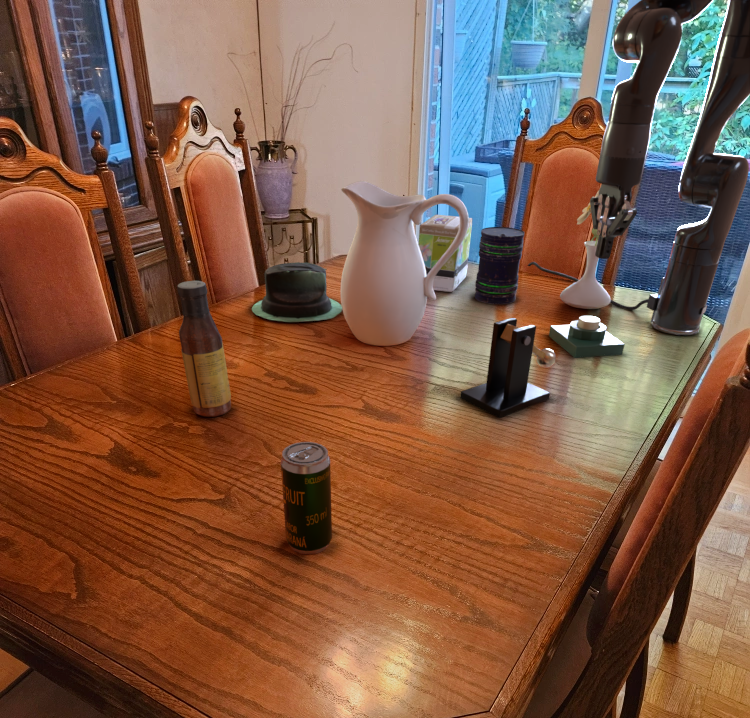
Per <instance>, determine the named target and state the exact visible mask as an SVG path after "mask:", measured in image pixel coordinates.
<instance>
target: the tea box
mask: <svg viewBox="0 0 750 718" xmlns="http://www.w3.org/2000/svg"><path fill="white" fill-rule="evenodd" d="M459 226H460V217H459V216H455V215H445V214H434V215H433V216H431V217H430V218H428V219H426V220H425V221H424V222H421V223H420V224H419V229H418V230H419V232H418V245H419V248H420V251H421V254H422V257H423V261H424V265H425V269H426V275H427V274H428V273H429V272H430V270H431V269H432V268H433V266H434V265H435V264H436V263H437V262H438V260H439V259H440V258H441V257H442V255H443V254H444V253H445V252H446V251H447V249H448V248H449V247H450V245H451V244H452V242H453V241H454V239H455V237H456V235H457V233H458V230H459ZM472 229H473V217H469V224H468V230H467V233H466V236H465V238H464V240H463V241H462V243H461V244H460V246H459V247H458V249H457V250H456V251H455V252H454V254H453V255H452V256H451V257H450V258H449V259H448V260H447V262H446V263H445V264H444V265H443V266H442V267H441V269H440V270H439V271H438V273H437V274H436V276H435V277H434V280H433V290H434V291H439V292H449V293H453V292H454V291H455V289H457V288H458V286H459V285H460V284H461V283H462V282H463V281H464V280H465V279H466V277H467V274H468V273H467V272H468V265H469V257H470V247H471V236H472Z"/></svg>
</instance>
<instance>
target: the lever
mask: <svg viewBox="0 0 750 718" xmlns="http://www.w3.org/2000/svg"><path fill="white" fill-rule="evenodd" d="M518 328H519V326H517V325H516V326H513V325H510V324H507V326H506V327H505V329H504V331H503V333H502V335H501V338H502V339H503V340H505V341H506V342H508V343H509V344H511V338H512V331H513V330H515V329H518ZM532 355H534V356H536V363H537V365H539V367H541V368H545V369H546V368H550V367H552V366H553V365H554V364H555V363H556V359H557V355H556V353H555V352H554V350H553V349H551V348H542V349H540V348H538V346H536V345H533V351H532Z"/></svg>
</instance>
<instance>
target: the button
mask: <svg viewBox="0 0 750 718" xmlns="http://www.w3.org/2000/svg"><path fill="white" fill-rule="evenodd" d="M578 320H579V321H578V327H579V328H582V329H588V330H597V329H598V328H599V323H601V319H600V318H599V317H597V316H593V315H581V316H579V317H578Z"/></svg>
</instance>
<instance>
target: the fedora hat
mask: <svg viewBox="0 0 750 718" xmlns="http://www.w3.org/2000/svg"><path fill="white" fill-rule="evenodd" d="M327 270H328V269H327V268H324V267H322V266H320V265H318V264H315V263H311V262H299V261H298V262H285V263H284V262H283V263H279V264H274V265H272V266H270V267H268V268H267V269H266V270H265V271H264V273H263V275H264V285H265V286H264V287H265V296H264V297H263V298H262V299H261V300H259V301H257V302H256V303H254V304H253V305H252V307H251V311H252V313H253V314H254V315H256V316H257V317H258V316H259V317H261V318H263V319H267V320H269V321H277V322H285V323H299V322H313V321H314V322H315V321H323V320H324V321H325V320H330V319H334V318H335V317H337V316H338V315H340V314H341V313H342V312H343V310H342V304H341V303H339V302H338V301H337V300H335V299H332V298H330V297H329V296H328V295H327V287H328V286H327Z"/></svg>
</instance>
